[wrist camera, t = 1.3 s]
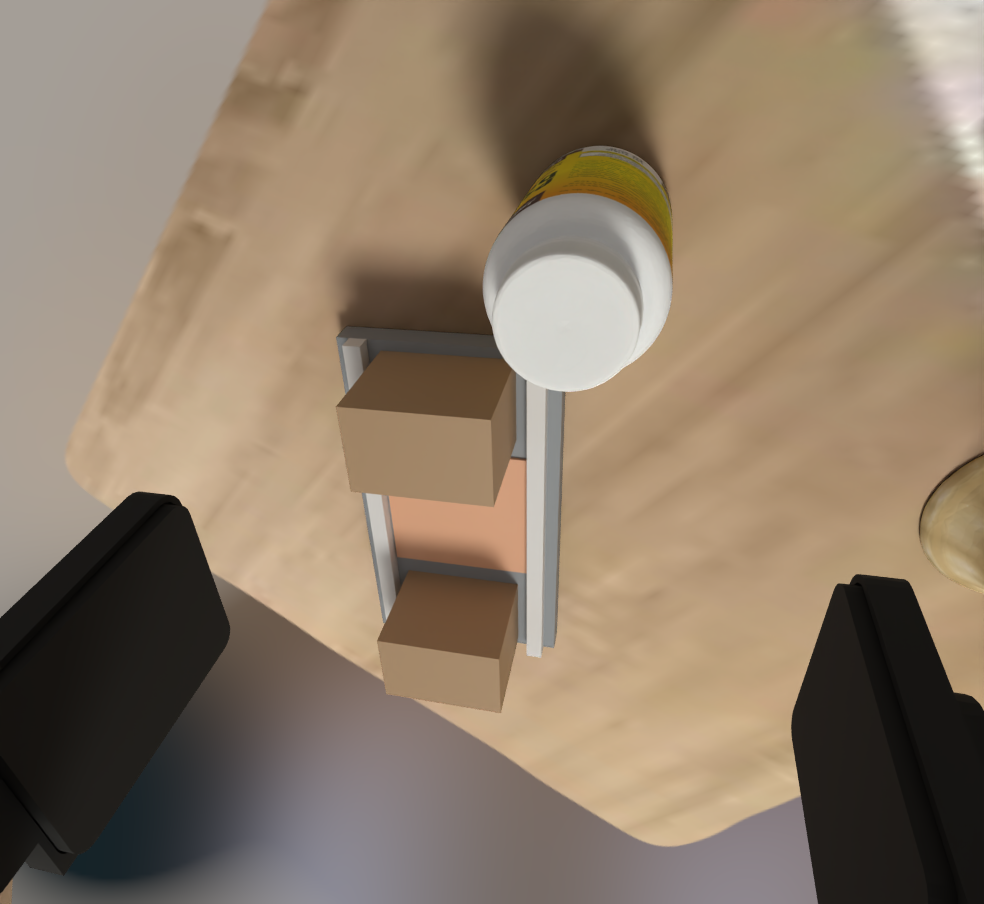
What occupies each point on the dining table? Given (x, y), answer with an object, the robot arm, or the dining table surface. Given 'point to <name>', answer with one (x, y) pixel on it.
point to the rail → (454, 507)
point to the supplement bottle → (582, 270)
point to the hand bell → (957, 527)
